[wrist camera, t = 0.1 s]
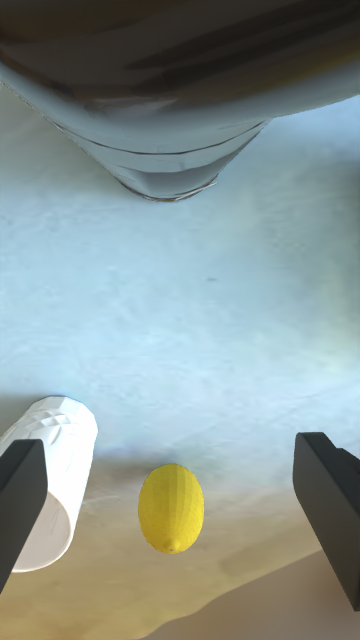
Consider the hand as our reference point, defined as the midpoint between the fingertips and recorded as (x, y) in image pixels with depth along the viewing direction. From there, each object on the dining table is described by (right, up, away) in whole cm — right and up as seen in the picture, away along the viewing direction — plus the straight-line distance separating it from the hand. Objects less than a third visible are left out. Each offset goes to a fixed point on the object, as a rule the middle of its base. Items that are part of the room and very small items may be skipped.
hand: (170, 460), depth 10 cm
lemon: (-1, -10, +21) cm, 23 cm away
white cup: (-11, -5, +19) cm, 23 cm away
